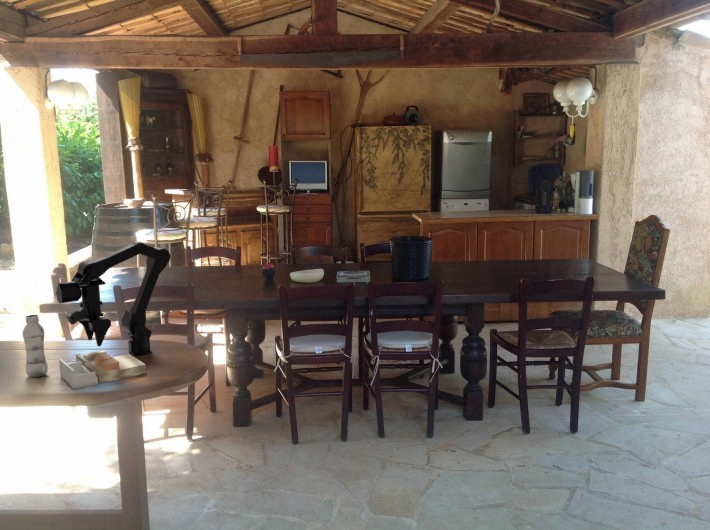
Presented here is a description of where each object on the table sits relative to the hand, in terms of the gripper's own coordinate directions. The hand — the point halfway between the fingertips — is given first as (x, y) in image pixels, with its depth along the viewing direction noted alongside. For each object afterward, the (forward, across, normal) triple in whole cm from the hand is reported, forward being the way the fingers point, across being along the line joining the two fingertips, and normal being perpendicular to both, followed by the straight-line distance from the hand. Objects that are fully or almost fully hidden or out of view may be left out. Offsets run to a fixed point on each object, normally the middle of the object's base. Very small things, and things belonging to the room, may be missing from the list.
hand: (94, 342), depth 220 cm
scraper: (+7, 0, 0) cm, 7 cm away
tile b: (+4, +17, -1) cm, 18 cm away
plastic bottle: (+7, +2, -19) cm, 20 cm away
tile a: (+4, +12, -1) cm, 12 cm away
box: (+7, +14, -10) cm, 19 cm away
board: (+7, +14, +1) cm, 16 cm away
